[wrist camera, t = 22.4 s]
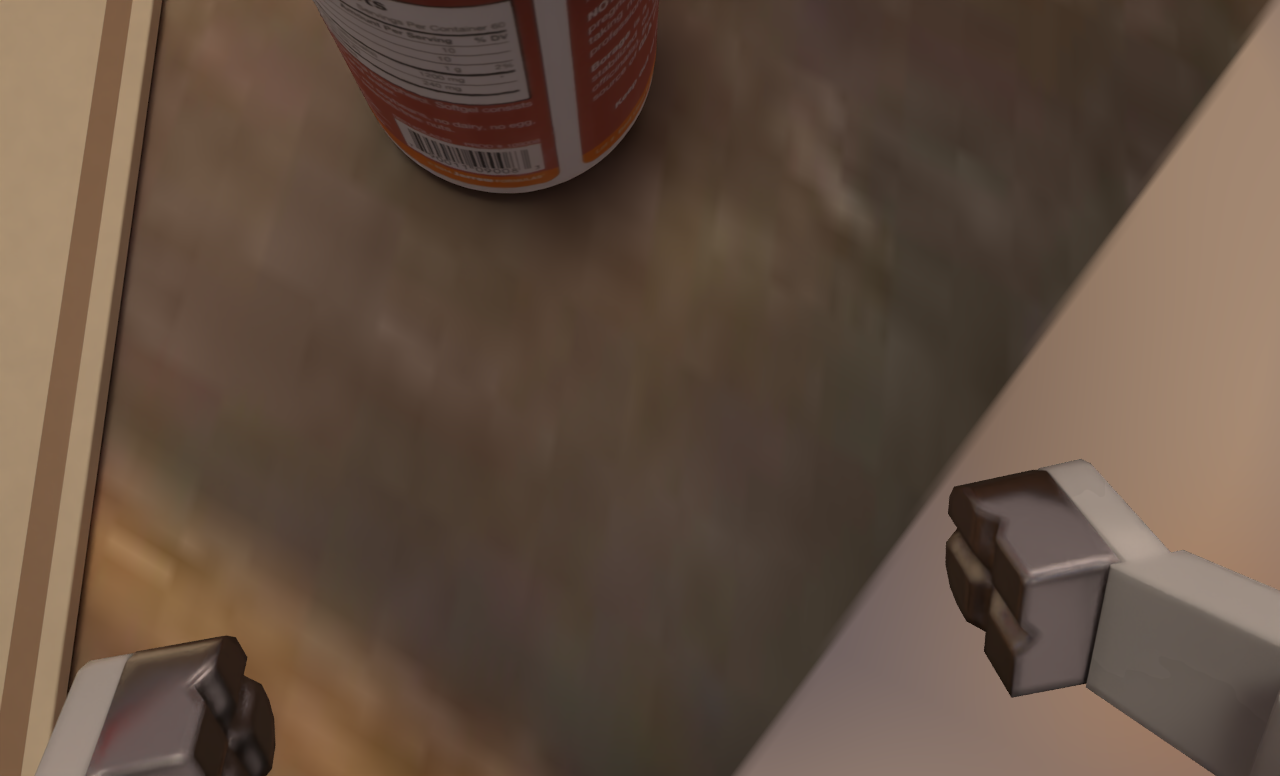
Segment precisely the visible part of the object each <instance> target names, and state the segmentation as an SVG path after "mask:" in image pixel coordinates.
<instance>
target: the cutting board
mask: <svg viewBox="0 0 1280 776" xmlns="http://www.w3.org/2000/svg"><path fill="white" fill-rule="evenodd" d="M161 6H162V0H0V776H35V773H36V771H37V769H38V766H39V764H40V761H41V759H42V756H43V754H44V752H45V749H46V747H47V744H48V742H49V739H50V737H51V735H52V732H53V730H54V727H55V725H56V722H57V720H58V718H59V715H60V713H61V710H62V708H63V705H64V703H65V701H66V696H67V689H68V682H69V674H70V667H71V660H72V653H73V645H74V638H75V631H76V623H77V616H78V609H79V602H80V594H81V587H82V580H83V573H84V565H85V558H86V551H87V543H88V536H89V529H90V522H91V514H92V507H93V500H94V493H95V485H96V478H97V471H98V464H99V456H100V449H101V442H102V434H103V427H104V420H105V413H106V405H107V398H108V391H109V384H110V376H111V369H112V362H113V354H114V347H115V340H116V333H117V325H118V318H119V311H120V304H121V296H122V289H123V282H124V275H125V267H126V260H127V253H128V245H129V238H130V231H131V224H132V216H133V209H134V202H135V195H136V187H137V180H138V173H139V166H140V158H141V151H142V144H143V136H144V129H145V122H146V115H147V107H148V100H149V93H150V86H151V78H152V71H153V64H154V56H155V49H156V42H157V35H158V27H159V20H160V13H161Z"/></svg>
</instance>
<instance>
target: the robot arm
mask: <svg viewBox="0 0 1280 776" xmlns="http://www.w3.org/2000/svg"><path fill="white" fill-rule="evenodd" d="M948 514H949V516H950V517H951V519H952V520H953V522H954V524H955V525H956V527H957V530H956V531H955V532H954V533H953V534H952V536H951V537H950V538H949V539H948V541H947V542H946V569H947V574H948V579H949V584H950V588H951V590H952V593H953V596H954V598H955V601H956V603H957V605H958V607H959V609H960V611H961V612H962V614H963V616H964V618H965V619H966V621H967V622H969V623H971V624H972V625H974V626H976V627H978V628H980V629H982V630H983V631H985V632H986V635H985V646H984V652H985V654H986V655H987V657H988V659H989V660H990V662H991V664H992V666H993V667H994V669H995V670H996V672H997V674H998V676H999V677H1000V679H1001V681H1002V682H1003V684H1004V686H1005V687H1006V689H1007V691H1008V692H1009V694H1010V696H1011V697H1017V696H1023V695H1028V694H1033V693H1039V692H1044V691H1049V690H1054V689H1059V688H1065V687H1070V686H1076V685H1081V684H1086V683H1087V684H1086V688H1088V689H1089V690H1091V691H1092V692H1094V693H1095V694H1096V695H1098V696H1100V697H1101V698H1102V699H1104V700H1105V701H1107V702H1108V703H1110V704H1111V705H1113V706H1114V707H1116V708H1117V709H1119V710H1120V711H1122V712H1123V713H1125V714H1126V715H1127V716H1129V717H1130V718H1132V719H1133V720H1135V721H1136V722H1138V723H1139V724H1141V725H1142V726H1144V727H1145V728H1147V729H1148V730H1149V731H1151V732H1153V733H1154V734H1155V735H1157V736H1158V737H1160V738H1161V739H1163V740H1164V741H1166V742H1167V743H1169V744H1170V745H1172V746H1173V747H1175V748H1176V749H1178V750H1179V751H1181V752H1182V753H1183V754H1185V755H1186V756H1188V757H1189V758H1191V759H1192V760H1194V761H1195V762H1197V763H1198V764H1200V765H1201V766H1202V767H1204V768H1206V769H1207V770H1208V771H1210V772H1212V773H1213V774H1214V775H1216V776H1280V591H1279V590H1277V589H1274V588H1272V587H1270V586H1267V585H1265V584H1263V583H1260V582H1258V581H1256V580H1253V579H1251V578H1249V577H1246V576H1244V575H1241V574H1239V573H1237V572H1234V571H1232V570H1230V569H1227V568H1225V567H1223V566H1220V565H1218V564H1215V563H1213V562H1211V561H1208V560H1206V559H1204V558H1201V557H1199V556H1196V555H1194V554H1192V553H1189V552H1187V551H1185V550H1181V551H1176V552H1170V551H1169V550H1168V549H1167V548H1166V547H1165V545H1164V544H1163V543H1162V542H1161V541H1160V540H1159V539H1158V538H1157V537H1156V535H1155V534H1154V533H1153V532H1152V531H1151V530H1150V529H1149V528H1148V527H1147V525H1146V524H1144V522H1143V521H1142V520H1141V519H1140V518H1139V517H1138V515H1137V514H1135V512H1134V511H1133V510H1132V509H1131V508H1130V507H1129V505H1128V504H1127V503H1126V502H1125V501H1124V500H1123V499H1122V498H1121V497H1120V496H1119V495H1118V493H1117V492H1116V491H1115V490H1114V489H1113V488H1112V487H1111V486H1110V484H1109V483H1108V482H1107V481H1106V480H1105V479H1104V478H1103V477H1102V476H1101V474H1100V473H1099V472H1098V471H1097V470H1096V469H1095V468H1094V467H1093V466H1092V465H1091V463H1088V462H1086V461H1084V460H1082V459H1079V460H1075V461H1070V462H1065V463H1061V464H1056V465H1052V466H1047V467H1043V468H1039V469H1038V470H1031V471H1026V472H1021V473H1016V474H1012V475H1007V476H1003V477H997V478H993V479H988V480H983V481H979V482H974V483H970V484H965V485H960V486H956V487H954V488H953V490H952V492H951V494H950V497H949V509H948ZM246 661H247V656H246V654H245V653H244V651H243V649H242V647H241V646H240V644H239V642H238V641H237V639H236V637H231V636H221V637H215V638H209V639H204V640H198V641H193V642H187V643H182V644H176V645H170V646H165V647H159V648H154V649H148V650H143V651H137V652H135V653H133V654H127V655H121V656H115V657H109V658H104V659H98V660H92V661H89V662H88V663H86V664H85V665H84V666H83V667H82V668H81V669H80V670H79V671H78V673H77V674H76V676H75V679H74V681H73V684H72V686H71V689H70V691H69V693H68V696H67V698H66V701H65V703H64V705H63V708H62V710H61V713H60V715H59V718H58V720H57V722H56V725H55V727H54V730H53V732H52V735H51V737H50V739H49V742H48V744H47V747H46V749H45V752H44V754H43V756H42V759H41V761H40V764H39V766H38V769H37V771H36V773H35V776H266V775H267V774H268V773H269V772H270V770H271V769H272V764H273V758H274V751H275V726H274V716H273V712H272V709H271V705H270V702H269V699H268V697H267V695H266V693H265V691H264V689H263V687H262V685H261V684H260V683H258V682H256V681H254V680H252V679H250V678H248V677H246V676H244V670H245V666H246Z"/></svg>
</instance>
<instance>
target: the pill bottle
mask: <svg viewBox="0 0 1280 776" xmlns="http://www.w3.org/2000/svg"><path fill="white" fill-rule="evenodd" d="M313 1H314V3H315V4H316V6H317V8H318V10H319V12H320V15H321V17H322V18H323V20H324V22H325V24H326V25H327V28H328V29H329V31H330V33H331V35H332V37H333V38H334V40H335V42H336V44H337V46H338V48H339V50H340V52H341V54H342V56H343V57H344V59H345V61H346V63H347V65H348V67H349V69H350V70H351V72H352V74H353V76H354V78H355V80H356V82H357V84H358V86H359V88H360V90H361V91H362V93H363V95H364V97H365V99H366V101H367V103H368V105H369V106H370V108H371V110H372V112H373V113H374V115H375V117H376V118H377V120H378V121H379V123H380V125H381V126H382V128H383V129H384V131H385V132H386V134H387V135H388V136H389V137H390V139H391V140H392V141H393V142H394V143H395V144H396V145H397V146H398V147H399V148H400V149H401V150H402V151H403V152H404V153H405V154H406V155H407V156H408V157H409V158H410V159H412V160H413V161H414V162H415V163H417V164H418V165H420V166H421V167H423V168H424V169H426V170H428V171H429V172H431V173H432V174H434V175H436V176H438V177H440V178H442V179H444V180H446V181H448V182H451V183H454V184H457V185H460V186H462V187H466V188H470V189H474V190H479V191H485V192H493V193H524V192H532V191H536V190H540V189H545V188H548V187H551V186H554V185H557V184H560V183H563V182H566V181H568V180H570V179H572V178H574V177H576V176H578V175H580V174H582V173H583V172H585V171H587V170H588V169H590V168H592V167H593V166H594V165H596V164H597V163H598V162H600V161H601V160H602V159H603V158H604V157H606V156H607V155H608V154H609V153H610V152H611V151H612V150H613V149H614V148H615V147H616V146H617V145H618V144H619V142H620V141H621V140H622V139H623V138H624V136H625V135H626V134H627V132H628V131H629V130H630V128H631V127H632V126H633V124H634V122H635V121H636V119H637V117H638V116H639V114H640V112H641V110H642V108H643V105H644V103H645V101H646V98H647V95H648V92H649V89H650V85H651V82H652V76H653V70H654V64H655V58H656V44H657V24H658V5H659V0H313Z"/></svg>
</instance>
